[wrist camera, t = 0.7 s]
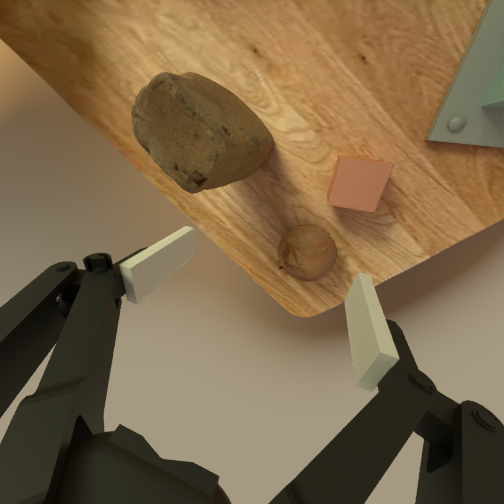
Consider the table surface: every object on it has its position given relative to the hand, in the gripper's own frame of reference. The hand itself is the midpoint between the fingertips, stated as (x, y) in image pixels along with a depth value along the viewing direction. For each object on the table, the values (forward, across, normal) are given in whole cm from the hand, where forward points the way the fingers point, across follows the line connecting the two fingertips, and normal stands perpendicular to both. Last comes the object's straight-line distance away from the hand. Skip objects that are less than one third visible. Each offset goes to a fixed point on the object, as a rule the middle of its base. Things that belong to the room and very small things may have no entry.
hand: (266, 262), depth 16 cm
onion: (+23, +4, -7) cm, 24 cm away
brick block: (+22, +7, +5) cm, 24 cm away
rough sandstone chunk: (+22, -11, +8) cm, 26 cm away
